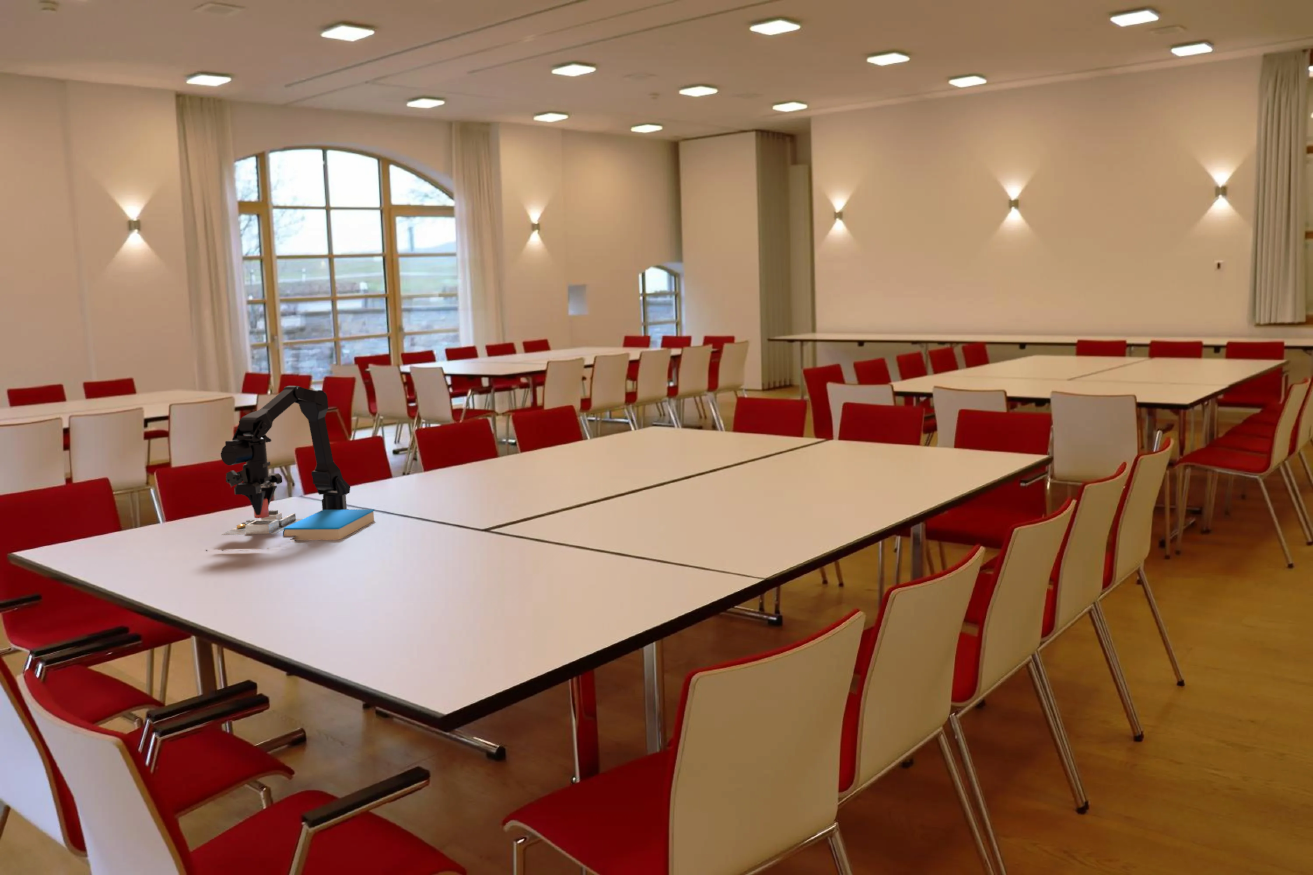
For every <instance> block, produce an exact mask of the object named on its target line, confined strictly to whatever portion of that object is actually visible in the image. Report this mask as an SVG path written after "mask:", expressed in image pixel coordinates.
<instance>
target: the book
mask: <svg viewBox="0 0 1313 875" xmlns="http://www.w3.org/2000/svg"><path fill="white" fill-rule="evenodd" d="M374 512H375V509H374V508H373V509H372V508H370V509H368V508H367V509H363V508H362V509H353V508H352V509H349V510H320V511H317V512H315V513H313V514H311V515H309V516H307V517H304V518H301V519H302V520H300V521H298V522H296V523H293V524H291V525H289V526H287V527H285V528H284V530H282V531H283V532H282V536H284V537H285V536H286V537H289V536H292V538H290V539H289V541H309V540H310V541H311V540H313V541H315V540H316V541H318V540H320V541H323V540H324V541H326V540H328V541H329V540H331V541H333V540H334V541H335V540H341V539H343V538H345V537H347V536H349V535H350V534H352V533H354V532H356V531H357V530H360V529H361V528H363V527H365V526H367V525H368V524H371V523H373V522H374V521H375V514H374ZM293 536H294V537H293Z"/></svg>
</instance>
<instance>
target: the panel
mask: <svg viewBox="0 0 1313 875" xmlns="http://www.w3.org/2000/svg"><path fill="white" fill-rule="evenodd" d="M302 519H303V518H297V517H296V513H295V512H294V513H290V514H288V515H286V516H284V517H282V519H280V520H261V518H259V519H247V520H245V521H244V522H241V524H237V525H236V527H234V528H231V530H229V531H226V532H225V533H222V534H221V536H234V535H235V536H236V535H237V536H238V535H241V536H242V535H276V534H278V533H280V532H282V531H284V528H285V527H287V526H289V525H291V524H293V523H296V522H298V521H300V520H302Z"/></svg>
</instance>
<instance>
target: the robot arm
mask: <svg viewBox="0 0 1313 875" xmlns="http://www.w3.org/2000/svg"><path fill="white" fill-rule="evenodd" d="M293 404H297V405H299V409H300V411H301V413H302V414H303V416H304V417H305V418H306V419H307V421H308V426H309V431H310V436H311V440H312V446H313V451H314V456H315V461H316V465H315V468H314V470H312V471H311V474H310V475H311V477H312V484H313V485H314V487H315V488H316V491H317V494H318V495H319V496H320V495H322V499H321V508H322V510H350V509H349V508H348V507H347V495H348V494H350V493H351V485H349V483H348V482H347V481H346V480H345V479H344V478H343V475H342V472H341V469H340V468H339V466H338V465H337V463H335V461H334V459H333V453H332V448H331V443H330V437H329V432H328V428H327V422H326V415H327V412H328V409H329V399H328V395H327V393H326V392H325V391H323V390H322V389H311V388H310V389H308V388H304V387H302V386H299V385H287V386H284V388H283V390H282V391H280V392H279V393H278V394H277V395H276V396H275V397H273V398H272V399H271V400H269V401H268V402H267V403H266V404H265V405H264V406H262V407H261V408H259V409H258V410H256V411H252V412H249V413H247V414H246V415H243V416H242V417H241V418H240V419H239V420H238V422H239V423H238V425H237V427H236V430H235V432H234V435H233V436H232V440H225V445H224V446H223V447H222V449H221V452H220V457H221V461H222V462H223V463H224V464H225V465H226V466H234V465H238V464H243V463H245V464H243V465H242V470H239V471H235V470H230V471H228V472H226V473H225V475H226V476H225V479H226V480H225V482H226V483H227V484H229V485H230V488H232V487H234V488H233V489H234V490H233V491H234V495H236V496H237V495H238V496H239V495H242V496H245V497H246V498H248V500H249V501H250V503H251V507H252V509H253V512H254V511H255V513H256V515H260V513H261V510H262V505H263V500H264V498H267V499H268V508H269V507H270V503H271V501H272V498H273V497H274V494H275V491H276V489H277V488H278V486H277V485H280V484H282V483H283V476H282V475H281V474H280V473H278V472H277V473H275V472H274V473H272V472H271V473H269V466H271V461H268V454H267V452H268V451H267V443H271V442H272V439H271V438H270V437H269V436H268V435H266V434H267V433H268V432H269V431H270V430H271V429H272V427H273V424H274V423H273V422H274V421H275V419H277V418H278V417H279V416H281V414H283V413H285V411H287V409H288V408H290V407H291V406H293ZM274 483H275V484H277V485H273V484H274Z"/></svg>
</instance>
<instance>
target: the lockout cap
mask: <svg viewBox="0 0 1313 875" xmlns="http://www.w3.org/2000/svg"><path fill="white" fill-rule="evenodd" d="M269 510H270V509H269V507H268V499H267V498H264V500H263V505H262V510H261V513H260V515H256V513H255V511H254V510H253V516H254V519H261V518H265V517H269Z"/></svg>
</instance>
